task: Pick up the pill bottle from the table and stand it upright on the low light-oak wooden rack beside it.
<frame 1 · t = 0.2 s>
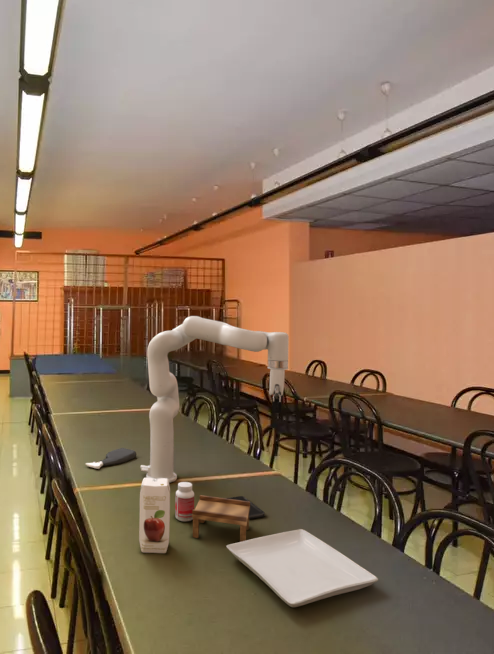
hand: (276, 410, 170), 31 cm above the table, tool pointing down, fingers open, 9 cm apart
phone: (244, 509, 155), on the table
juice carton: (154, 548, 128), on the table
square plate: (297, 574, 116), on the table
pill bottle: (184, 518, 147), on the table
rack: (221, 532, 138), on the table
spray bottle: (111, 462, 201), on the table
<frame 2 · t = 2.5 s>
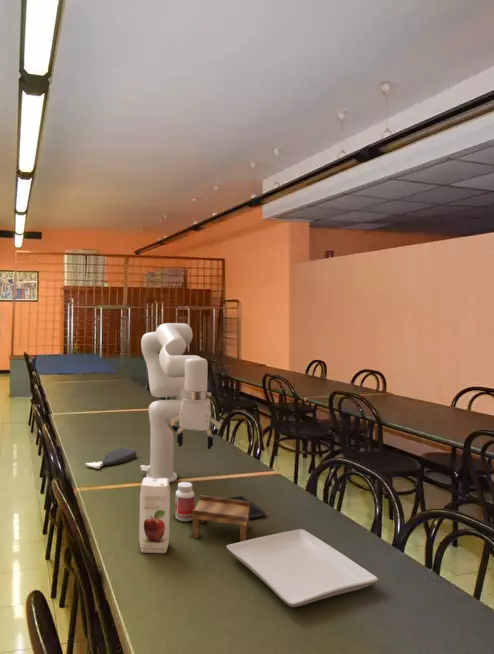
hand: (194, 446, 149), 23 cm above the table, tool pointing down, fingers open, 9 cm apart
nothing on the table moved.
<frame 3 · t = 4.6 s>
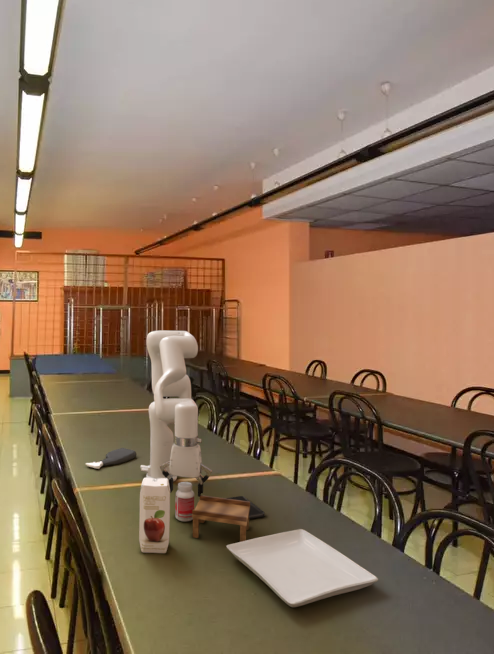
hand: (185, 493, 147), 8 cm above the table, tool pointing down, fingers open, 9 cm apart
nothing on the table moved.
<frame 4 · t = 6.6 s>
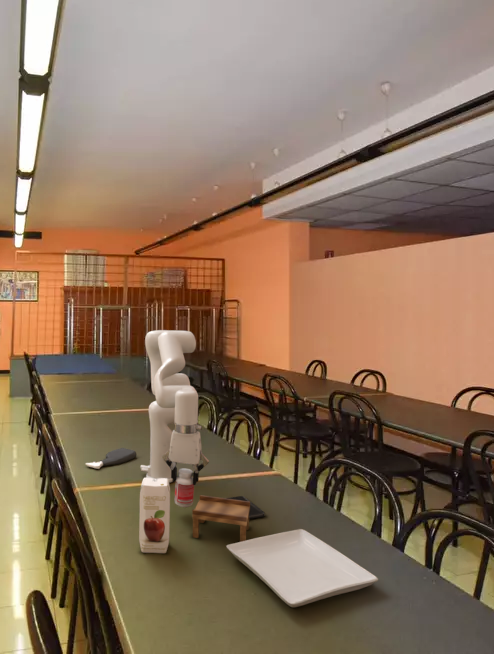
hand: (184, 481, 148), 12 cm above the table, tool pointing down, fingers closed on pill bottle, 6 cm apart
pill bottle: (183, 503, 149), point 4 cm above the table, touching gripper
everything else where it was.
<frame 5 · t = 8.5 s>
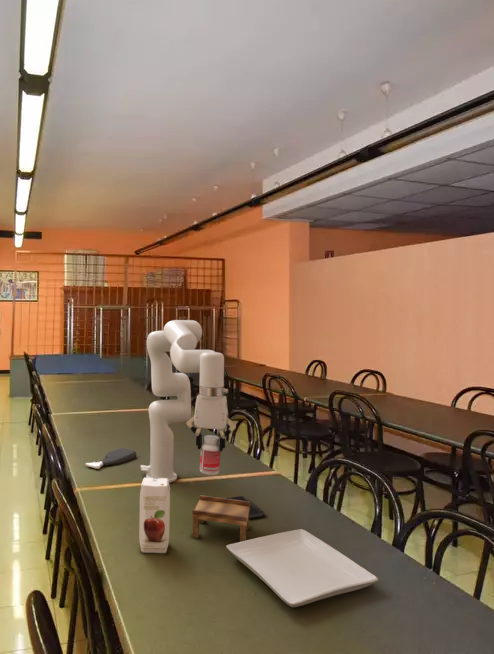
hand: (210, 448, 140), 25 cm above the table, tool pointing down, fingers closed on pill bottle, 6 cm apart
pill bottle: (209, 472, 141), point 17 cm above the table, touching gripper
everything else where it was.
when the fingers open (15 cm above the table, at t = 11.9 s): pill bottle stays where it is, resting on rack.
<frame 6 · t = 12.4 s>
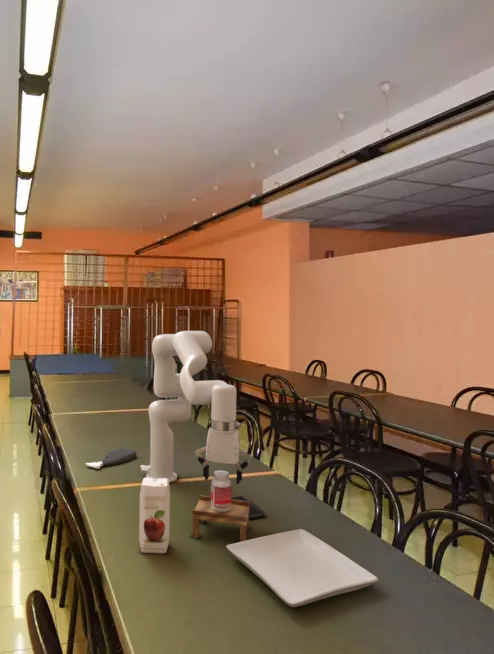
hand: (222, 480, 138), 16 cm above the table, tool pointing down, fingers open, 9 cm apart
pill bottle: (220, 509, 139), point 7 cm above the table, touching rack
everything else where it was.
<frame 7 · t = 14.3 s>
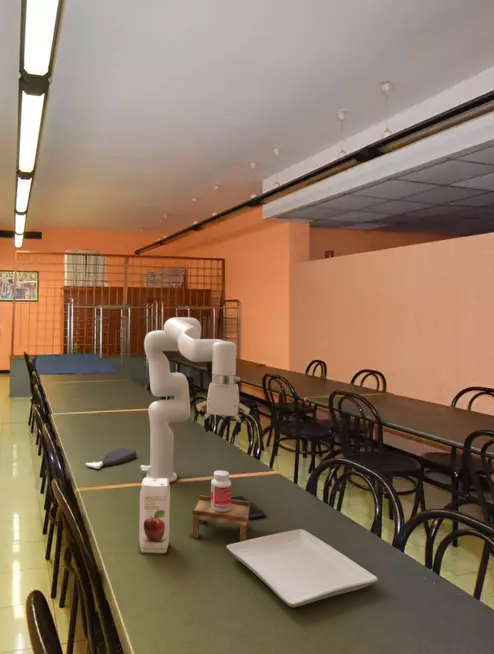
hand: (222, 432, 145), 29 cm above the table, tool pointing down, fingers open, 9 cm apart
nothing on the table moved.
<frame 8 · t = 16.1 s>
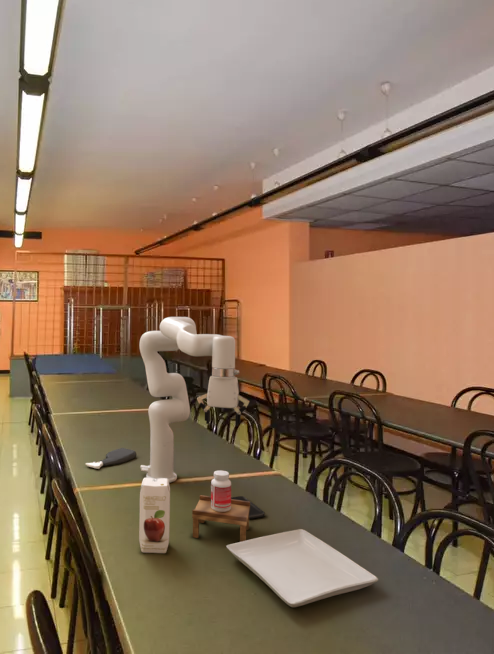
hand: (222, 424, 149), 30 cm above the table, tool pointing down, fingers open, 9 cm apart
nothing on the table moved.
at the end: pill bottle inside the target area on the rack (0.9 cm from its centre), point 6.8 cm above the rack's base; pill bottle tilted 0°; the gripper is holding nothing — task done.
